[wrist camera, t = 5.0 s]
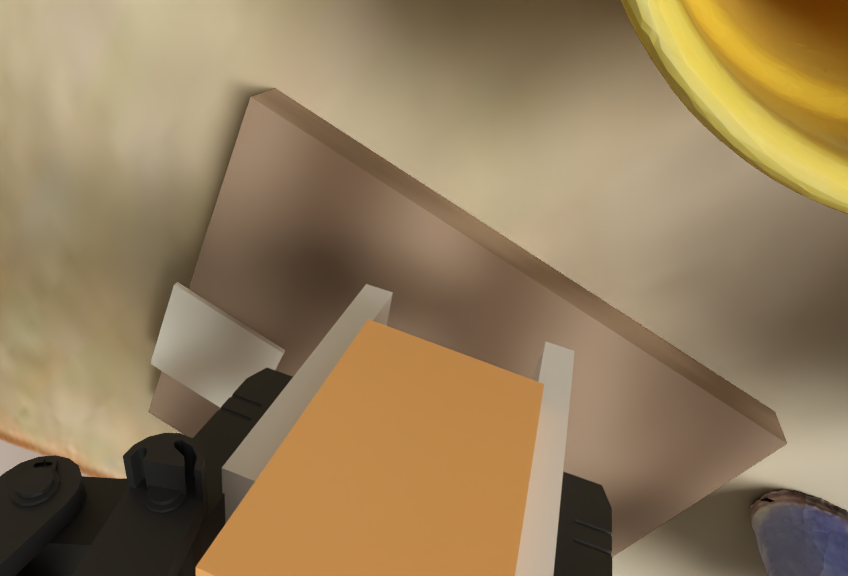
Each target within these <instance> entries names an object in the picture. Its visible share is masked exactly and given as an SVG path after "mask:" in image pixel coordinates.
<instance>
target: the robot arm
mask: <svg viewBox="0 0 848 576" xmlns="http://www.w3.org/2000/svg"><path fill="white" fill-rule="evenodd" d="M392 294H393V292H390V291H387V290H384V289H380V288H377V287H374V286H371V285H368V284H366V285H365V286H364V288H363V289H362V290H361V291H360V293H359V294H358V295H357V296H356V298H355V299H354V300H353V302H352V303H351V304H350V305H349V307H348V308H347V309H346V310H345V312H344V313H343V314H342V316H341V317H340V318H339V319H338V321H337V322H336V323H335V324H334V326H333V327H332V328H331V330H330V331H329V332H328V333H327V335H326V336H325V337H324V338H323V340H322V341H321V342H320V344H319V345H318V346H317V347H316V349H315V350H314V351H313V352H312V354H311V355H310V356H309V357H308V359H307V360H306V361H305V363H304V364H303V365H302V366H301V368H300V369H299V370H298V371H297V373H296V374H295V375H294V377H293V376H290V375H287V374H284V373H281V372H279V371H276V370H273V369H270V368H265V369H263V370H261V371H259V372H257V373H256V374H254V375H252V376H250V377H248V378H246V380H245V381H244V382H243V383H242V384H241V385H240V386H239V387H238V388H237V390H236V391H235V392H234V393H233V394H232V397H229V398H228V400H227V401H226V402H225V403H224V404H223V405H222V406H221V409H220V410H218V411H217V412H216V413H215V414H214V415H213V416H212V417H211V418H210V420H209V421H208V422H207V423H206V424H205V425H204V426H203V427H202V428H201V430H200V431H199V432H198V433H197V434H196V435H195V436H194V437H193V438H191V437H188V436H186V435H183V434H180V433H163V434H159V435H154V436H150V437H148V438H146V439H144V440H142V441H140V442H138V443H137V444H135V445H133V446H132V447H131V448H130V449H129V450H128V451H127V452H126V453H125V454H124V455H123V459H124V465H125V470H126V476H127V479H114V478H98V477H82V476H81V472H80V469H79V466H78V465H77V464H76V463H74V462H73V461H72V460H70V459H69V458H64V457H60V456H44V457H37V458H34V459H31V460H28V461H25V462H22V463H20V464H18V465H17V466H15V467H13V468H12V469H10V470H9V471H7V472H6V473H4V474H3V475H2V476H0V576H196V566H197V564H198V563H199V561H200V560H201V558H202V557H203V556H204V554H205V553H206V551H207V550H208V548H209V547H210V546H211V544H212V543H213V541H214V540H215V538H216V537H217V535H218V534H219V533H220V531H221V530H222V528H223V527H224V525H225V524H226V523H227V521H228V520H229V518H230V517H231V515H232V514H233V512H234V511H235V510H236V508H237V507H238V505H239V504H240V502H241V501H242V500H243V498H244V497H245V495H246V494H247V492H248V491H249V489H250V488H251V487H252V485H253V484H254V482H255V481H256V479H257V478H258V477H259V475H260V474H261V472H262V471H263V469H264V468H265V466H266V465H267V464H268V462H269V461H270V459H271V458H272V456H273V455H274V454H275V452H276V451H277V449H278V448H279V446H280V445H281V443H282V442H283V441H284V439H285V438H286V436H287V435H288V433H289V432H290V431H291V429H292V428H293V426H294V425H295V423H296V422H297V420H298V419H299V418H300V416H301V415H302V413H303V412H304V410H305V409H306V408H307V406H308V405H309V403H310V402H311V400H312V399H313V397H314V396H315V395H316V393H317V392H318V390H319V389H320V387H321V386H322V385H323V383H324V382H325V380H326V379H327V377H328V376H329V374H330V373H331V372H332V370H333V369H334V367H335V366H336V364H337V363H338V362H339V360H340V359H341V357H342V356H343V354H344V353H345V351H346V350H347V349H348V347H349V346H350V344H351V343H352V341H353V340H354V339H355V337H356V336H357V334H358V333H359V331H360V330H361V328H362V327H363V326H364V324H365V323H366V321H367V320H368V319H369V320H372V321H375V322H378V323H380V324H383V325H386V326H387V322H388V316H389V310H390V305H391V299H392ZM574 353H575V351H574V350H571V349H567V348H564V347H561V346H558V345H555V344H552V343H549V342H546V341H545V344H544V347H543V349H542V352H541V354H540V357H539V360H538V362H537V365H536V367H535V370H534V373H533V375H532V378H531V379H532V380H535V381H537V382H540V383H543V384H544V389H543V396H542V402H541V409H540V415H539V422H538V428H537V435H536V441H535V448H534V454H533V461H532V467H531V474H530V480H529V487H528V494H527V500H526V507H525V513H524V520H523V526H522V533H521V539H520V546H519V552H518V559H517V565H516V572H515V576H612V556H611V553H612V537H611V533H612V508H611V505H610V503H609V501H608V498H607V496H606V493H605V491H604V489H603V486H602V485H600V484H597V483H595V482H592V481H589V480H586V479H583V478H581V477H578V476H575V475H572V474H569V473H566V472H564V471H563V469H564V458H565V448H566V437H567V427H568V416H569V405H570V395H571V384H572V374H573V363H574Z"/></svg>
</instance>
